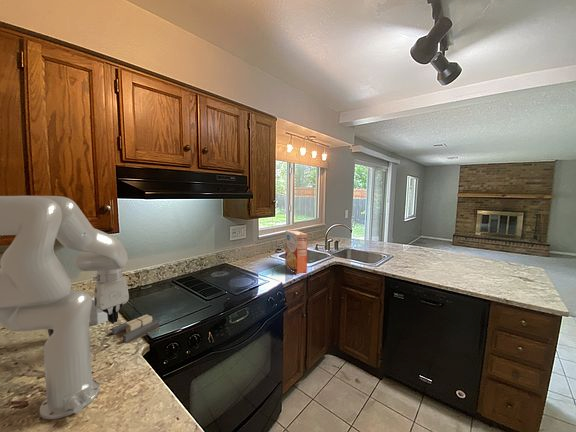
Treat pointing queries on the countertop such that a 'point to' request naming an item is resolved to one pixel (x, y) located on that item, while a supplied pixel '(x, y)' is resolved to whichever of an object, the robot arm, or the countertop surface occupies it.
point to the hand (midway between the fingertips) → (113, 321)
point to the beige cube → (145, 320)
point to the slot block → (134, 331)
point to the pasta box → (296, 251)
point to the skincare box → (97, 315)
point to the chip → (133, 325)
